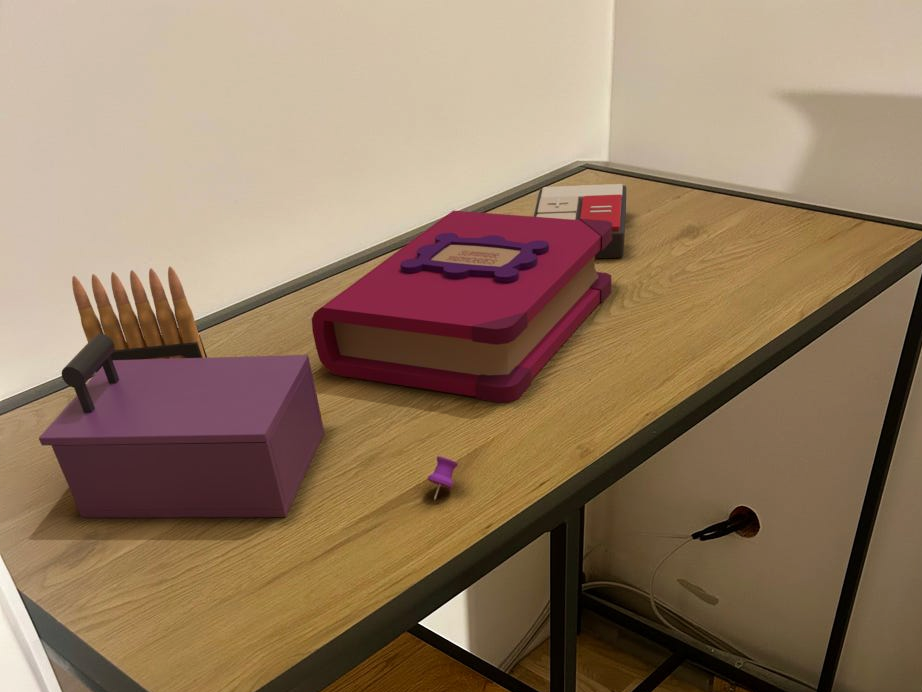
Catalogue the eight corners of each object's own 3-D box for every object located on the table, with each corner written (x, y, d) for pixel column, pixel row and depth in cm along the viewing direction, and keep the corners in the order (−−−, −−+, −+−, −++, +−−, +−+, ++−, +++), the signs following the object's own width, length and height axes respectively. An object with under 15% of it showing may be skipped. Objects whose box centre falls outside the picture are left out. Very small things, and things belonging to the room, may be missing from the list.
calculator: (528, 229, 111) (539, 182, 121) (530, 266, 114) (540, 216, 124) (624, 226, 109) (626, 178, 119) (623, 263, 112) (625, 213, 122)
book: (320, 374, 95) (305, 299, 90) (447, 270, 113) (440, 202, 108) (513, 404, 87) (508, 324, 82) (616, 287, 105) (617, 215, 100)
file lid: (41, 446, 74) (17, 390, 71) (110, 367, 84) (91, 315, 81) (266, 442, 71) (251, 384, 68) (310, 362, 81) (298, 308, 78)
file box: (81, 517, 78) (50, 445, 74) (142, 435, 88) (118, 367, 84) (285, 517, 76) (266, 443, 71) (324, 432, 86) (310, 362, 81)
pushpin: (423, 497, 76) (419, 464, 74) (444, 479, 78) (440, 447, 76) (445, 503, 76) (441, 470, 74) (465, 485, 77) (462, 452, 75)
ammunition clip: (216, 383, 95) (182, 261, 87) (213, 391, 94) (178, 269, 86) (109, 393, 95) (66, 273, 87) (105, 402, 94) (60, 281, 86)
